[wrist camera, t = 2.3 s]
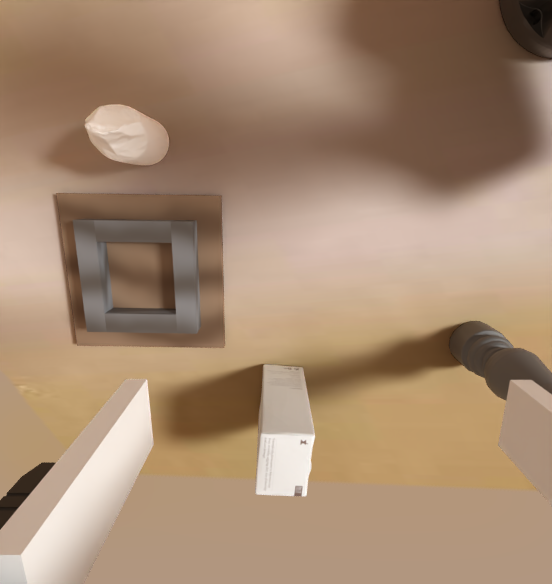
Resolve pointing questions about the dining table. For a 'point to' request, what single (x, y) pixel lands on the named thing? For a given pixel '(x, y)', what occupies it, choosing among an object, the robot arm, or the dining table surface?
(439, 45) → the dining table surface
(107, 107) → the white bottle-shaped piece
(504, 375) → the candle holder
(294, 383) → the skincare box
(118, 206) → the socket
